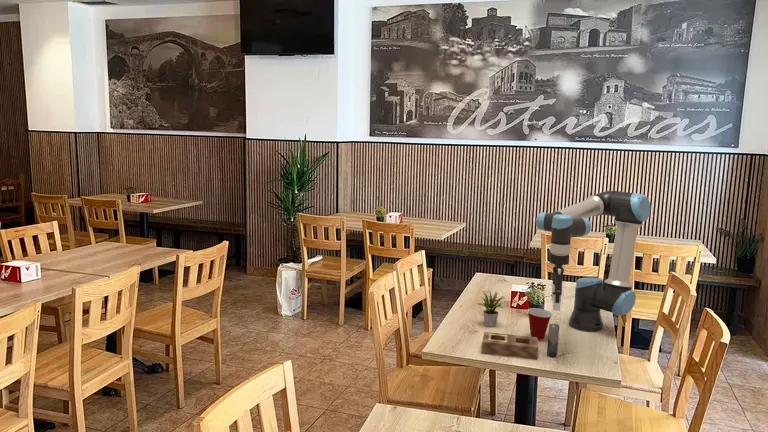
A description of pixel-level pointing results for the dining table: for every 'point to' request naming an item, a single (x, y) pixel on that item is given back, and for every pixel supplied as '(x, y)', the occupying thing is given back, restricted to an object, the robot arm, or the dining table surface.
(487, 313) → the house plant
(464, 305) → the dining table surface
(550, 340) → the pin
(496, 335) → the hole block
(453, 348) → the dining table surface
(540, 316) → the plastic cup
